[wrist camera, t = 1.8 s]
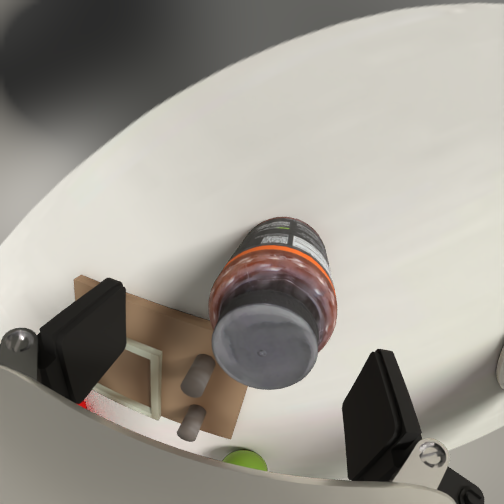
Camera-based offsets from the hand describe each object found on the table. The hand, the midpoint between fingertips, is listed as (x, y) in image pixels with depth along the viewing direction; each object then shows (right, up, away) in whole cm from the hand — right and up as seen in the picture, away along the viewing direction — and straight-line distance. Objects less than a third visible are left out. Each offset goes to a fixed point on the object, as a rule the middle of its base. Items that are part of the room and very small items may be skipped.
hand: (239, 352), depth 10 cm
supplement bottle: (+3, +3, +11) cm, 12 cm away
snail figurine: (0, -21, +19) cm, 28 cm away
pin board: (-9, -7, +16) cm, 20 cm away
